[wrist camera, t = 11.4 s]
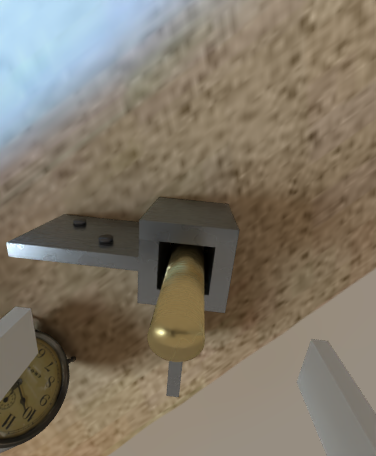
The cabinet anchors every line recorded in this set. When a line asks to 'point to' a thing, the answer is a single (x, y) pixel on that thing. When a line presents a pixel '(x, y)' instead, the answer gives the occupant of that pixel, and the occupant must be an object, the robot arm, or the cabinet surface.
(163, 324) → the hinge pin
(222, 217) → the hinge leaves
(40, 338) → the alarm clock
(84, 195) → the cabinet surface
